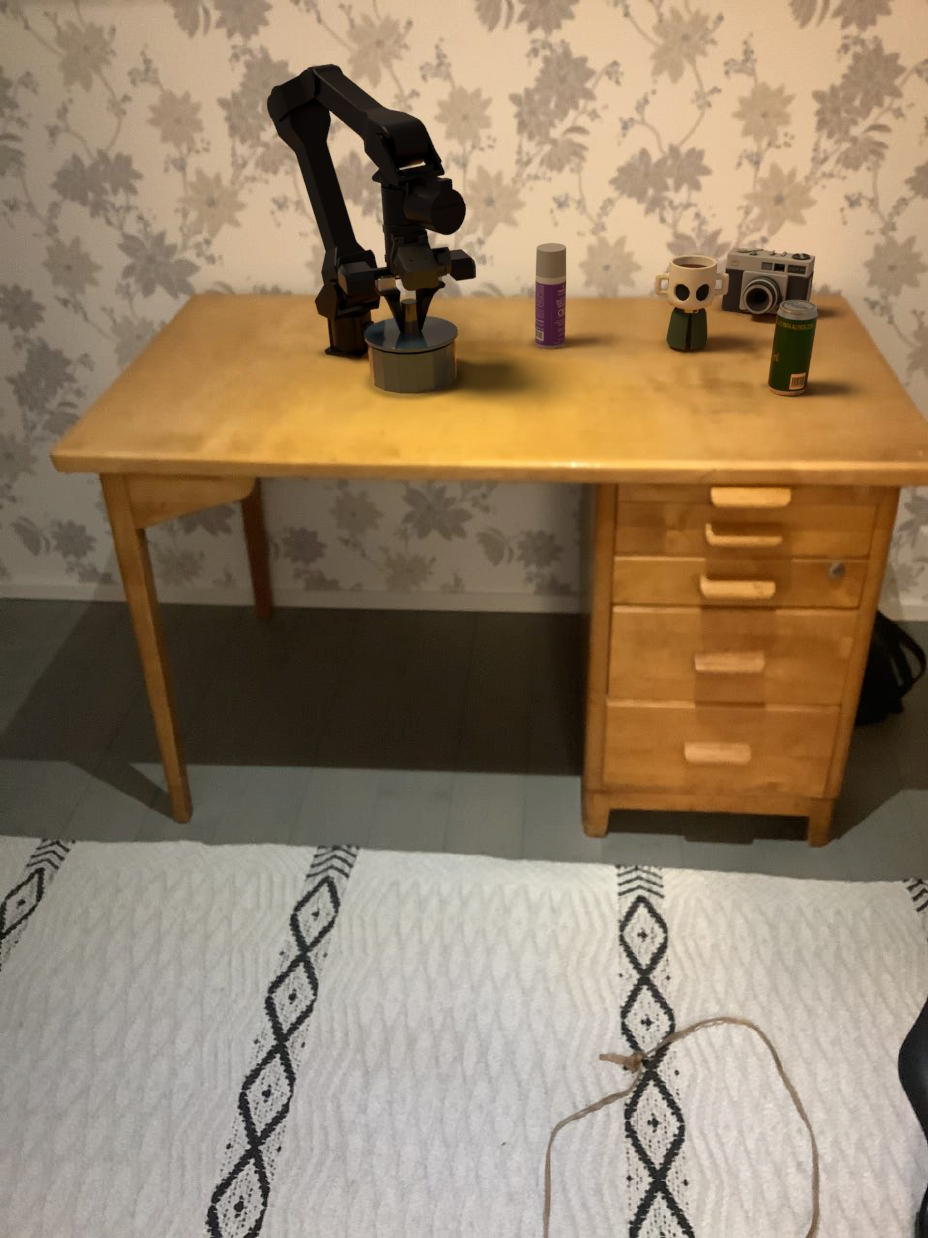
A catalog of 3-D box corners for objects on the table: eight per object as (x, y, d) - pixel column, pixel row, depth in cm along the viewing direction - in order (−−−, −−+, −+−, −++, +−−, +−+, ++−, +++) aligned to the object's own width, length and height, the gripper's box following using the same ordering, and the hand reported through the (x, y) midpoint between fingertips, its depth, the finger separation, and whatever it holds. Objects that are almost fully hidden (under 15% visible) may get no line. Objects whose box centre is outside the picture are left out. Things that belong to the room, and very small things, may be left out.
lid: (346, 348, 156) (343, 310, 153) (393, 317, 166) (391, 281, 163) (430, 362, 151) (429, 322, 147) (474, 329, 161) (473, 291, 157)
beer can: (814, 391, 153) (827, 307, 147) (783, 399, 152) (795, 315, 145) (789, 378, 157) (801, 296, 151) (759, 386, 156) (769, 303, 149)
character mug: (651, 353, 167) (657, 268, 160) (650, 337, 173) (655, 254, 166) (723, 354, 166) (733, 268, 159) (720, 337, 172) (728, 254, 164)
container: (562, 349, 170) (564, 252, 161) (533, 348, 171) (533, 251, 162) (566, 338, 173) (568, 242, 165) (537, 337, 174) (538, 242, 166)
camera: (708, 314, 180) (716, 252, 175) (731, 300, 186) (739, 240, 181) (789, 329, 173) (800, 265, 168) (810, 314, 180) (820, 252, 174)
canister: (355, 389, 160) (351, 347, 156) (397, 359, 169) (395, 318, 165) (431, 402, 155) (429, 359, 151) (470, 370, 164) (469, 329, 160)
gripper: (351, 243, 140) (361, 360, 149) (488, 226, 145) (490, 340, 154) (332, 222, 149) (342, 333, 158) (461, 206, 153) (465, 315, 162)
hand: (410, 330), depth 158 cm, fingers closed on lid, 2 cm apart
